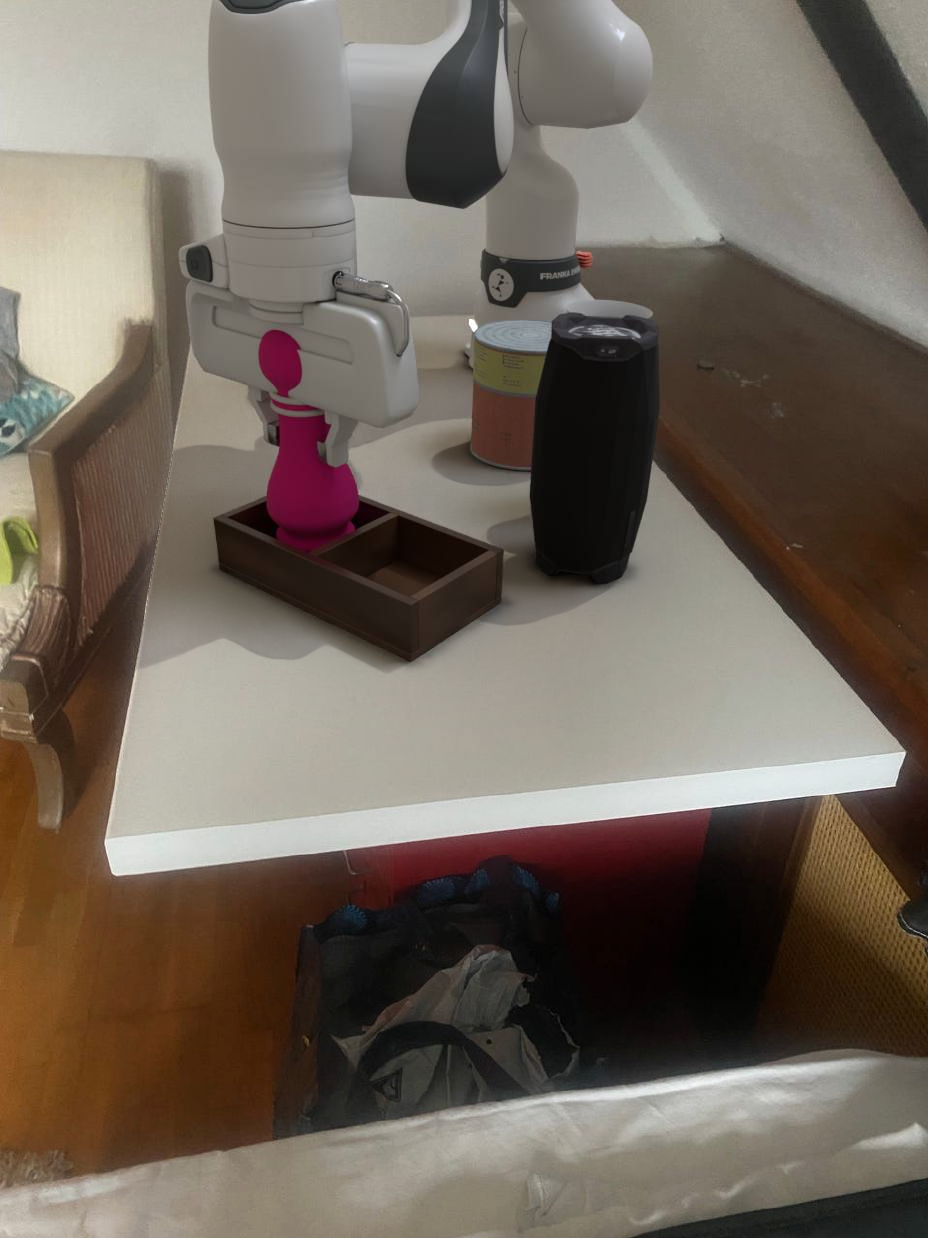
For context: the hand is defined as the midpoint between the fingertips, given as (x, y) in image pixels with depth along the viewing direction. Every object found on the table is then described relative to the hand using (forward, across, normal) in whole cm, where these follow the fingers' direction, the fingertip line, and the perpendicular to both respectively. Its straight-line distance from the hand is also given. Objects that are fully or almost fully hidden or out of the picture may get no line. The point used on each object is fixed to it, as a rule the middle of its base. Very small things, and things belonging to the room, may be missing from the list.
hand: (305, 452), depth 72 cm
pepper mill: (+9, 0, -1) cm, 9 cm away
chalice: (+10, -11, -24) cm, 28 cm away
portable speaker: (+10, -16, -15) cm, 24 cm away
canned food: (+10, +2, -32) cm, 33 cm away
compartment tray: (+10, -5, 0) cm, 11 cm away
